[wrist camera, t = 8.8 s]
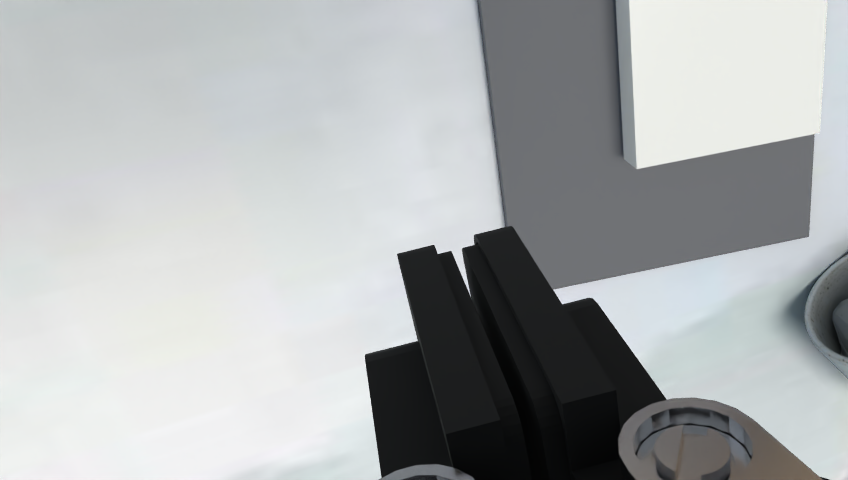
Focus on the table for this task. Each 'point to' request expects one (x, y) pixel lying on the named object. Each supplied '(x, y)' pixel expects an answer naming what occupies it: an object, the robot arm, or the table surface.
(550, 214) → the mat
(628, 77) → the tile
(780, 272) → the table surface
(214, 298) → the table surface
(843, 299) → the ceramic mug
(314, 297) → the table surface
